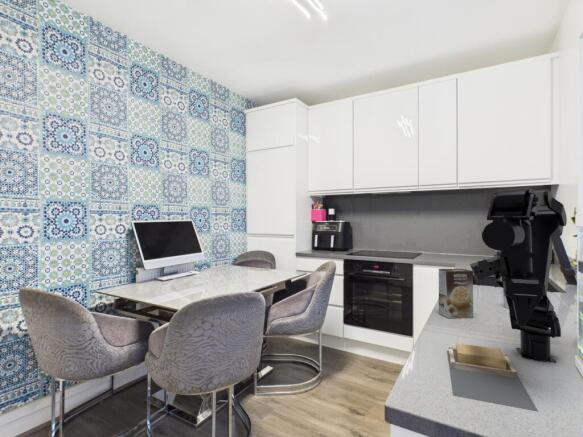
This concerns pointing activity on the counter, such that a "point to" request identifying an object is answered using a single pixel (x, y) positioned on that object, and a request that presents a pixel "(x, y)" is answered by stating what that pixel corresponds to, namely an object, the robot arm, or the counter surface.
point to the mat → (490, 388)
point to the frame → (483, 367)
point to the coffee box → (456, 293)
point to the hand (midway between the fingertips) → (516, 319)
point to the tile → (480, 356)
